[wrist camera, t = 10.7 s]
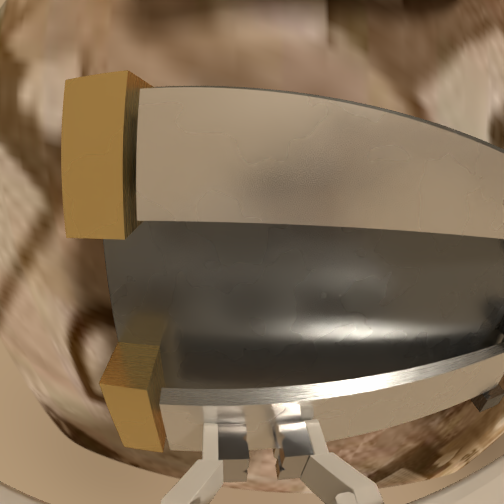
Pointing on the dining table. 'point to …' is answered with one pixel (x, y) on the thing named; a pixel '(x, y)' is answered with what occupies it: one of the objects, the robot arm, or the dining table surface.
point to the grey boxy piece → (259, 282)
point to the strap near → (309, 165)
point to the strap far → (332, 401)
